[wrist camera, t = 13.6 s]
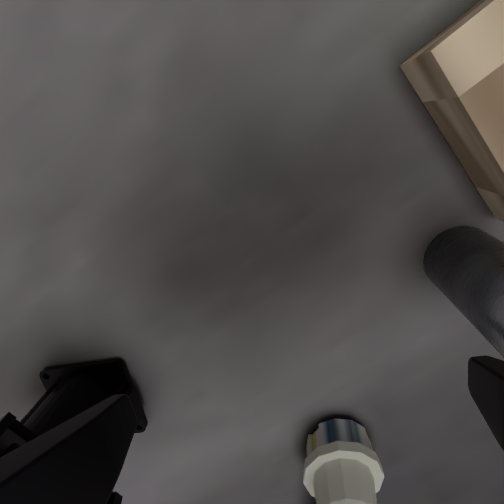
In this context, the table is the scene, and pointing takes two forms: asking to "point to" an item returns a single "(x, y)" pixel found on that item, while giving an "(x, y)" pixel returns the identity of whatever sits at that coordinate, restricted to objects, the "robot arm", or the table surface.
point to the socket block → (468, 94)
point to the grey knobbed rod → (342, 464)
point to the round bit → (471, 277)
